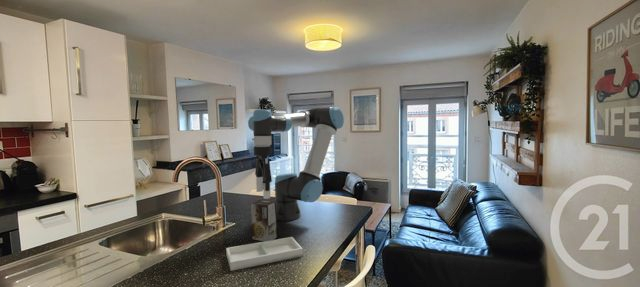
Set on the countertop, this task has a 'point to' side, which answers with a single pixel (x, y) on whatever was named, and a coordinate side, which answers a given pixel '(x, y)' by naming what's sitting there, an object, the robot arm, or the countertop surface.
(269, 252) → the cell crate
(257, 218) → the coffee box
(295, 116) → the robot arm
